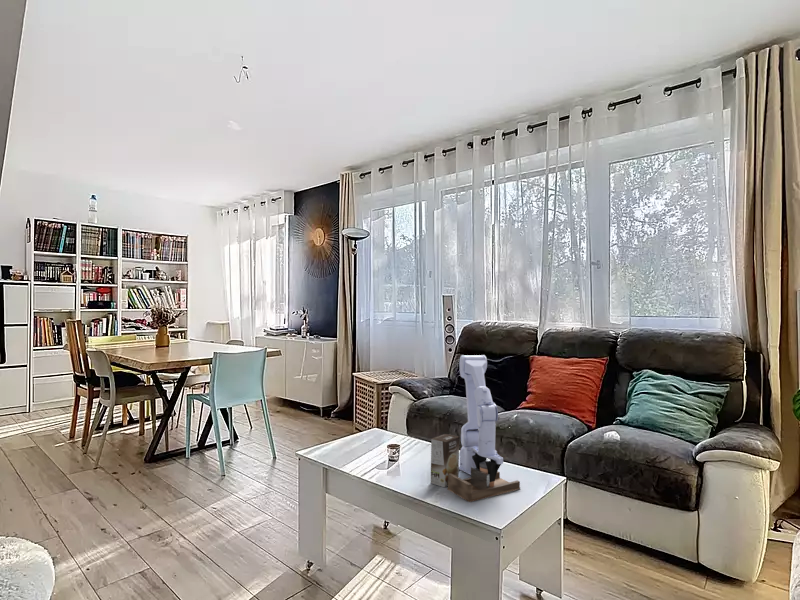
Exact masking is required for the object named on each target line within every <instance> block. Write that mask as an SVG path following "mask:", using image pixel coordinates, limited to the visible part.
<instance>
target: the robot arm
mask: <svg viewBox="0 0 800 600" xmlns="http://www.w3.org/2000/svg"><path fill="white" fill-rule="evenodd" d="M458 361H459V363H458V364H459V366H458V367H459V375H460V377H461V378H462V379H464V383H465V384H464V385H465V395H466V397H465V398H466V411H467V412H466V413H467V414H466V415H467V422H466V423H464V424H463V425H462V427H461V429H460V442H461V448H460V449H459V471H462V472H464V473H466V474H468V475H470V476H471V467H475V468H477V469H479V470H480V462H481V461H487V462H485V463H486V466H487V469H488V474H490V479H489V482H493V481H495V477H496V474H497V471H498V472H499V470H500V467H501V466H502V464H504V457H502V456H501V455H500V454H498V451H497V450H496V422H497V421H498V420H499V411H498V410H499V409H498V406H497V404H496V402H494V401H493V397H492V394H491V389H490V388H488V387H487V386H486V377H485V373H486V371H487V368H488V360H487V356H486V355H485V354H481V355H480V354H479V355H477V354H476V355H475V354H474V355H468V354H467V355H464V354H461V355H460V357H459V360H458Z"/></svg>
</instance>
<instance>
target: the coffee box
mask: <svg viewBox="0 0 800 600" xmlns="http://www.w3.org/2000/svg"><path fill="white" fill-rule="evenodd" d="M430 439H431V441H430V442H431V445H430V484H432V485H434V486H435V485H436V486H438V487H442V488H446V487H448V474H450V473H451V474H453V475H455V476H457V477H459V474H460V473H459V471H460V469H459V467H460V436H458V435H454V434H448V433H444V434H440V435H438V436H437V435H436V436H435V437H432V438H430ZM459 478H460V477H459Z"/></svg>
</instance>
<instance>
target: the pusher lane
mask: <svg viewBox="0 0 800 600" xmlns="http://www.w3.org/2000/svg"><path fill="white" fill-rule="evenodd" d="M500 475H501V474H500V471H499V470H498V471H497V474H496V477H495V481H494V486H493V487H489V488H485V489H481V490H480V489H478V488H477V487H475V486H473V485H472V484H471V476H470V477H467V478H461V477H457V476H455V475H453V474H451V473H450V474H448V486H447V490H448V491H450V492H451V493H452V494H454V495H456V496H458V497H459V498H462V499H463V500H465V501H466V502H468V503H472V502H475V501H476V502H477V501H479V500H483V499H487V498H491V497H494V496H499V495H503V494H506V493H511V492H514V491H518V490H521V483H520V482H521V481H519V480H518V479H517V480H514V481H507V480H506V479H503V478H501V476H500Z"/></svg>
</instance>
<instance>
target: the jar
mask: <svg viewBox="0 0 800 600" xmlns="http://www.w3.org/2000/svg"><path fill="white" fill-rule="evenodd" d="M487 461H488V460H486V461H481V462H480V470H481V471H483V472H485V473H488V469H487V466H486V463H485V462H487ZM493 486H494V481H493V482H489V487H493Z"/></svg>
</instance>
